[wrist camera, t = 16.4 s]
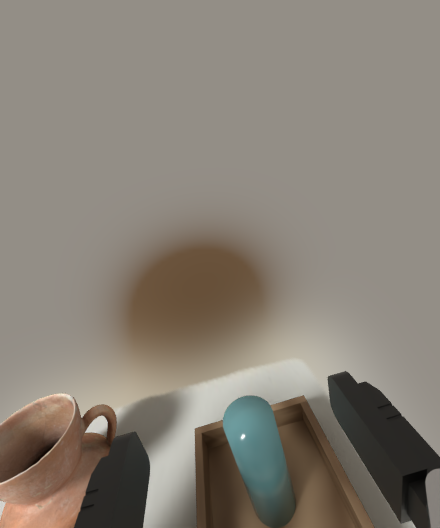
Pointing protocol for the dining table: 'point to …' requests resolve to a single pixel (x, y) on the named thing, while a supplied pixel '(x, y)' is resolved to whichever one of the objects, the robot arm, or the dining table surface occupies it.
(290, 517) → the teal canister
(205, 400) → the dining table surface
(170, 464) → the dining table surface
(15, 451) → the ceramic jug
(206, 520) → the walnut crate
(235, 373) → the dining table surface
